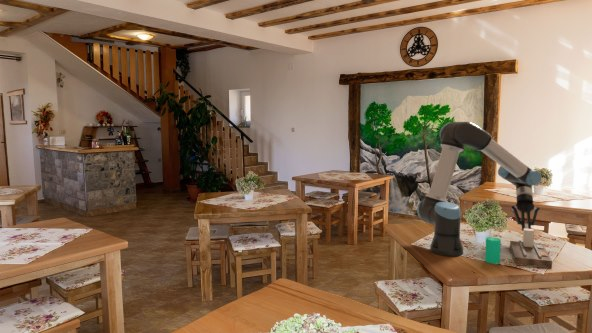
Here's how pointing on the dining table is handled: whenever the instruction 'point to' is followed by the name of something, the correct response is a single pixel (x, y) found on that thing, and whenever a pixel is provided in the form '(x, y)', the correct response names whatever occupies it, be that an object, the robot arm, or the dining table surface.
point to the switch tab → (528, 237)
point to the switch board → (530, 254)
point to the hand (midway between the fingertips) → (526, 236)
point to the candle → (492, 250)
